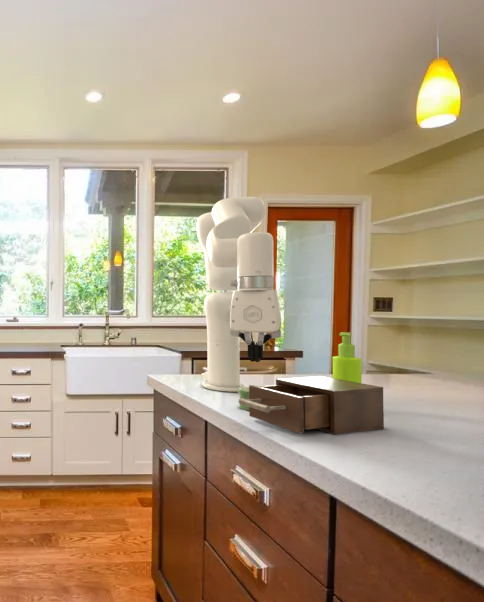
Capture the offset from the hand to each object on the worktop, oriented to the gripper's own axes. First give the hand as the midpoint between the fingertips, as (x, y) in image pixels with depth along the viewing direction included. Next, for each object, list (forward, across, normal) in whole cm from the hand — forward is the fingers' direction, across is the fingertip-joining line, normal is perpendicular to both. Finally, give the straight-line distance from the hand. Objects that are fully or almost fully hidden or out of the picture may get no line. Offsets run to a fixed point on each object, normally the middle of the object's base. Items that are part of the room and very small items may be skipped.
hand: (255, 361), depth 88 cm
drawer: (+13, +6, -2) cm, 14 cm away
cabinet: (+14, +13, +8) cm, 21 cm away
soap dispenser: (+14, +16, +28) cm, 35 cm away
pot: (+14, -3, +9) cm, 17 cm away
